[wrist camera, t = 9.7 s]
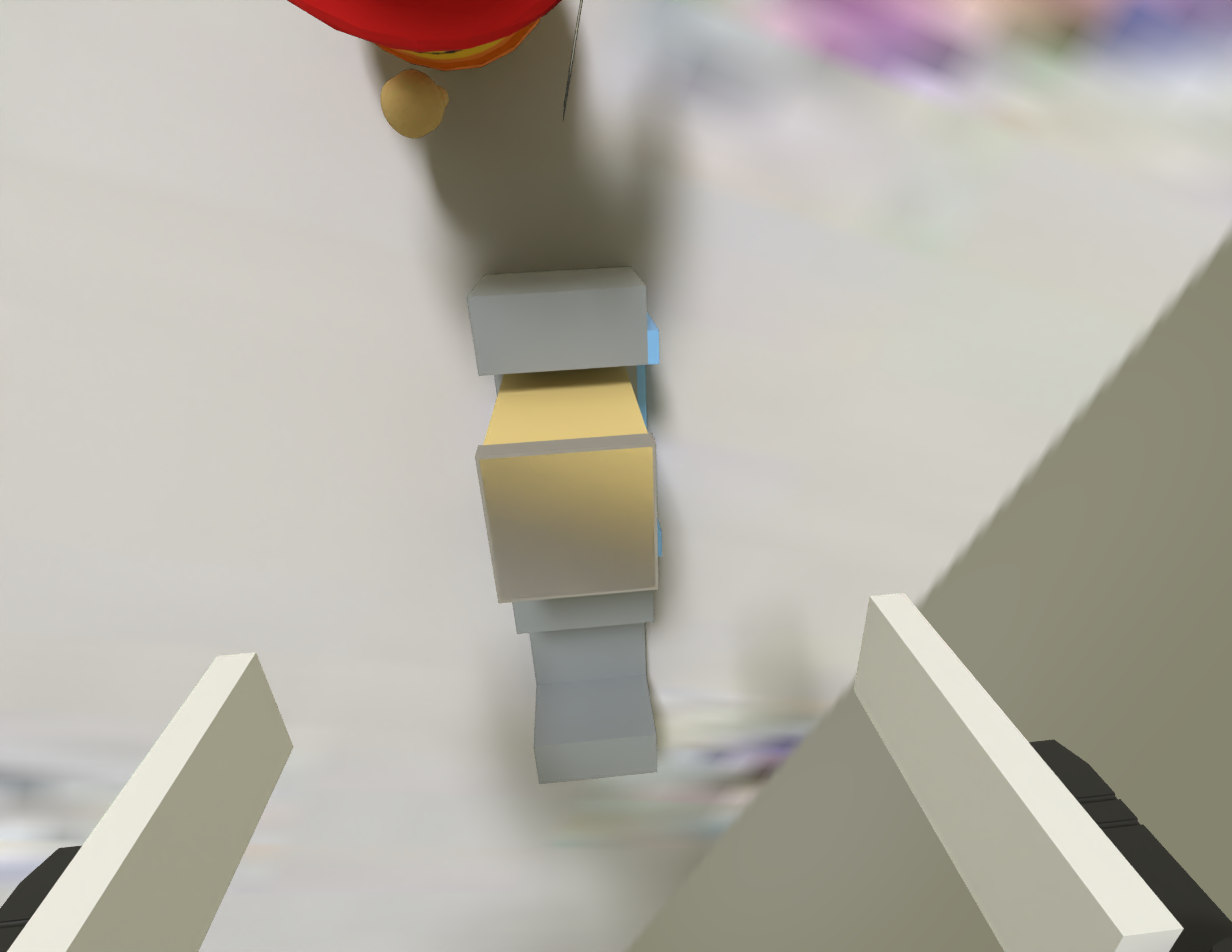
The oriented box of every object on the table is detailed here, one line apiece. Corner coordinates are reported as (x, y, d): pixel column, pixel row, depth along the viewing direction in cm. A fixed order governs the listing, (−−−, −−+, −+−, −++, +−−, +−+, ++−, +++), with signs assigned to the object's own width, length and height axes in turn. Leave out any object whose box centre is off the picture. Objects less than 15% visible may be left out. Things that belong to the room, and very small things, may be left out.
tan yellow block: (516, 479, 28) (498, 603, 20) (502, 368, 26) (474, 456, 17) (630, 471, 28) (658, 589, 20) (626, 360, 26) (656, 443, 18)
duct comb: (542, 704, 36) (539, 784, 31) (484, 274, 25) (466, 297, 20) (651, 694, 36) (664, 771, 31) (640, 265, 25) (658, 285, 21)
